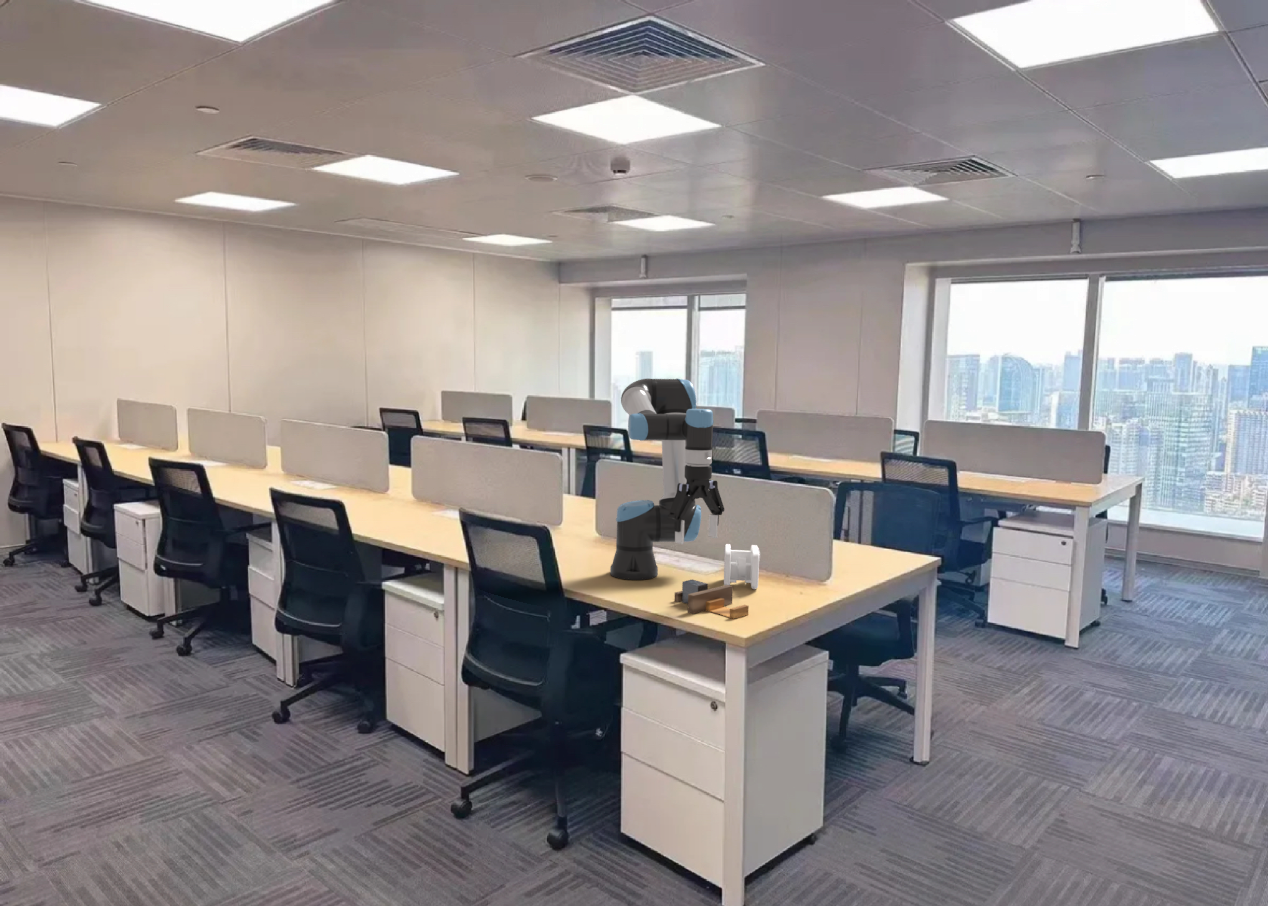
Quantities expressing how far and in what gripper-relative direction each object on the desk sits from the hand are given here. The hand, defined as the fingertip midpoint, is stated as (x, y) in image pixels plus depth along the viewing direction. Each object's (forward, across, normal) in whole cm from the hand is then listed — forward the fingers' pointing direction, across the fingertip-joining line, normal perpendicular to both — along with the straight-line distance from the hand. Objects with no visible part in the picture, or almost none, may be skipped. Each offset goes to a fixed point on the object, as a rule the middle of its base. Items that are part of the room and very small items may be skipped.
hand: (696, 540), depth 238 cm
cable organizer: (+18, +26, +5) cm, 32 cm away
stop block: (+18, 0, 0) cm, 18 cm away
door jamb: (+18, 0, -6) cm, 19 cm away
